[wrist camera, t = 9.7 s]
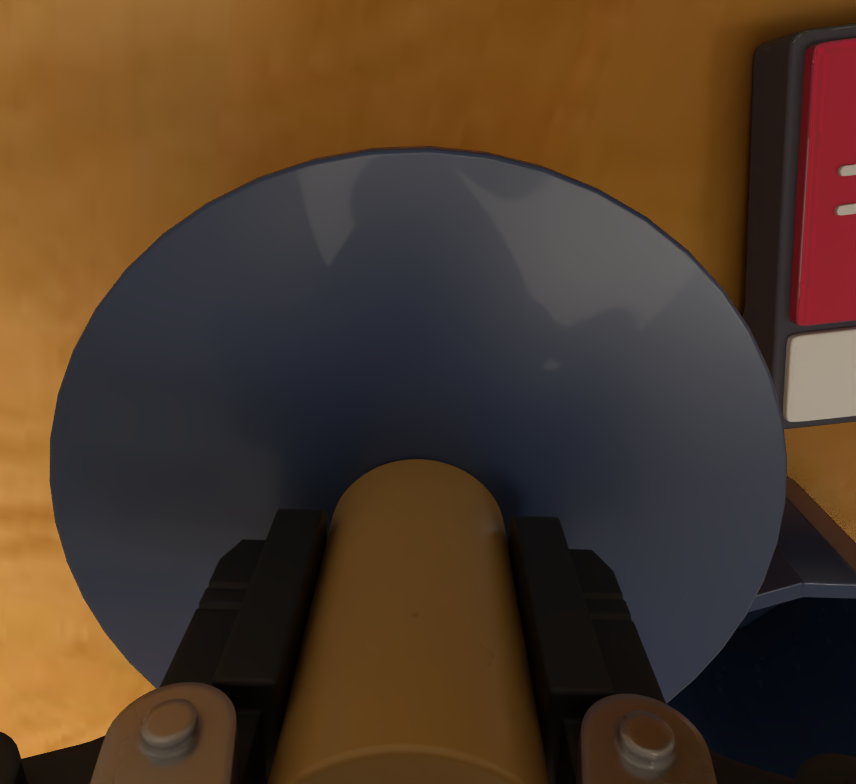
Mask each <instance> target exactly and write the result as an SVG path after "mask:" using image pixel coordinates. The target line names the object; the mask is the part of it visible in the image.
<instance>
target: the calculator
mask: <svg viewBox="0 0 856 784" xmlns="http://www.w3.org/2000/svg"><path fill="white" fill-rule="evenodd" d="M742 318H743V319H744V321H745V322H746V324H747V325H748V327H749V328H750V330H751V332H752V334H753V336H754V338H755V341H756V343H757V345H758V347H759V349H760V351H761V354H762V356H763V358H764V360H765V362H766V365H767V367H768V369H769V371H770V374H771V378H772V381H773V385H774V388H775V392H776V396H777V399H778V403H779V406H780V410H781V414H782V420H783V429H790V428H800V427H809V426H818V425H828V424H837V423H846V422H856V23H854V24H847V25H839V26H832V27H825V28H817V29H810V30H804V31H800V32H797V33H794V34H791V35H788V36H784V37H781V38H778V39H775V40H772V41H770V42H767V43H764V44H762V45H761V46H760V47H759V48H758V49H757V50H756V53H755V56H754V74H753V101H752V128H751V155H750V183H749V210H748V237H747V264H746V291H745V309H744V312H743V315H742Z"/></svg>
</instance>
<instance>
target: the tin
mask: <svg viewBox="0 0 856 784" xmlns="http://www.w3.org/2000/svg"><path fill="white" fill-rule="evenodd" d="M667 705H669V706H670V707H672V708H674V709H675V710H677V711H678V712H680V713H681V714H682V715H683V716H685V717H686V718H687V719H688V720H689V721H690V722H691V723H692V724H693V725H694V726H695V727H696V728H697V730H698V731H699V733H700V734H701V735H702V737H703V739H704V741H705V742H706V744H707V747H708V748H710V749H711V750H713V751H715V752H717V753H719V754H721V755H723V756H725V757H727V758H730V759H732V760H735V761H738V762H741V763H744V764H747V765H750V766H754V767H757V768H760V769H764V770H767V771H770V772H773V773H777V774H780V775H783V776H786V777H790V778H793V779H794V778H795V776H796V773H797V771H798V768H799V767H800V766H801V765H802V763H803V762H804V761H806V760H807V759H809V758H810V757H813V756H816V755H819V754H827V753H835V754H844V755H850V756H854V757H856V543H855V542H854V541H853V540H852V539H851V538H850V537H849V536H848V535H847V534H846V533H845V532H844V531H843V530H842V529H841V528H840V527H839V526H838V525H837V524H836V523H835V522H834V521H833V519H832V518H831V517H830V516H829V515H828V514H827V513H826V512H825V511H824V510H823V509H822V508H821V507H820V506H819V505H818V504H817V503H816V502H815V501H814V500H813V499H812V498H811V497H810V496H809V495H808V494H807V493H806V492H805V491H804V490H803V489H802V488H801V487H800V486H799V485H798V484H797V483H796V482H795V481H794V480H792V479H790V478H788V477H787V476H786V496H785V506H784V511H783V516H782V521H781V526H780V531H779V536H778V541H777V545H776V548H775V551H774V553H773V556H772V559H771V562H770V565H769V567H768V570H767V573H766V576H765V579H764V581H763V583H762V585H761V587H760V589H759V591H758V593H757V595H756V597H755V599H754V601H753V602H752V604H751V606H750V608H749V610H748V612H747V614H746V616H745V617H744V619H743V620H742V622H741V623H740V625H739V626H738V627H737V629H736V630H735V632H734V633H733V635H732V636H731V637H730V639H729V640H728V642H727V643H726V644H725V646H724V647H723V649H722V650H721V651H720V652H719V653H718V654H717V655H716V656H715V658H714V659H713V660H712V661H711V662H710V663H709V664H708V665H707V666H706V667H705V669H704V670H703V671H702V672H701V673H700V674H699V675H698V676H697V677H696V678H695V679H694V680H693V681H692V682H691V683H690V684H688V685H687V686H686V687H685V688H684V689H683V690H682V691H680V692H679V693H678V694H677V695H676V696H675V697H674V698H672V699H671V700H670V701H669V702H668V703H667Z"/></svg>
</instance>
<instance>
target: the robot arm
mask: <svg viewBox="0 0 856 784" xmlns="http://www.w3.org/2000/svg"><path fill="white" fill-rule="evenodd" d="M326 542H327V518H326V512H325V510H308V509H278V511H277V513H276V515H275V517H274V520H273V523H272V525H271V528H270V530H269V533H268V536H267V538H266V540H249V539H242V540H241V541H240V542H239V543H238V544H237V545H236V546H234V547H233V548H232V549H231V550H230V551H229V552H228V553H226V554H225V555H224V556H223V557H222V558H221V559H220V560H219V562H218V564H217V566H216V568H215V571H214V573H213V575H212V577H211V579H210V581H209V583H208V588H206V590H205V592H204V594H203V596H202V598H201V600H200V602H199V608H198V609H196V611H195V613H194V615H193V617H192V619H191V621H190V623H189V626H188V628H187V630H186V632H185V634H184V636H183V638H182V640H181V643H180V645H179V647H178V649H177V651H176V653H175V655H174V657H173V660H172V662H171V664H170V666H169V668H168V670H167V672H166V674H165V676H164V679H163V681H162V683H161V685H160V687H159V688H157V689H155V690H153V691H150V692H148V693H146V694H145V695H143V696H141V697H139V698H138V699H136V700H135V701H134V702H132V703H131V704H129V705H128V706H127V707H126V708H125V709H124V710H123V711H122V712H121V713H120V714H119V715H118V716H117V717H116V719H115V720H114V721H113V723H112V724H111V726H110V727H109V729H108V731H107V733H106V735H105V736H103V737H100V738H98V739H96V740H93V741H90V742H87V743H83V744H80V745H76V746H72V747H68V748H64V749H60V750H56V751H52V752H48V753H44V754H40V755H36V756H32V757H28V758H24V759H21V757H20V754H19V751H18V748H17V745H16V744H15V742H14V741H13V740H12V738H10V737H9V736H8V735H6V734H4V733H2V732H0V784H267V783H268V779H269V775H270V771H271V767H272V762H273V758H274V754H275V750H276V746H277V742H278V738H279V734H280V730H281V726H282V722H283V718H284V713H285V709H286V705H287V701H288V697H289V693H290V689H291V685H292V681H293V677H294V672H295V668H296V664H297V660H298V656H299V652H300V648H301V644H302V640H303V636H304V632H305V627H306V623H307V619H308V615H309V611H310V607H311V603H312V599H313V595H314V591H315V587H316V582H317V578H318V574H319V570H320V566H321V562H322V558H323V554H324V550H325V546H326ZM508 549H509V555H510V560H511V566H512V572H513V577H514V583H515V589H516V594H517V600H518V606H519V611H520V617H521V623H522V628H523V634H524V639H525V645H526V651H527V656H528V662H529V668H530V673H531V679H532V685H533V690H534V696H535V702H536V707H537V713H538V718H539V724H540V730H541V735H542V741H543V747H544V752H545V758H546V764H547V769H548V775H549V781H550V784H856V757H854V756H850V755H844V754H835V753H827V754H819V755H816V756H813V757H810V758H809V759H807V760H806V761H804V762H803V763H802V765H801V766H800V767H799V768H798V771H797V773H796V776H795V778H794V779H793V778H790V777H786V776H783V775H780V774H777V773H773V772H770V771H767V770H764V769H760V768H757V767H754V766H750V765H747V764H744V763H741V762H738V761H735V760H732V759H730V758H727V757H725V756H723V755H721V754H719V753H717V752H715V751H713V750H711V749H710V748H708V747H707V744H706V742H705V741H704V739H703V737H702V735H701V734H700V733H699V731H698V730H697V728H696V727H695V726H694V725H693V724H692V723H691V722H690V721H689V720H688V719H687V718H686V717H685V716H683V715H682V714H681V713H680V712H678V711H677V710H675V709H674V708H672V707H670V706H669V705H667V704H666V702H665V699H664V697H663V694H662V692H661V689H660V687H659V684H658V682H657V679H656V677H655V674H654V672H653V669H652V667H651V664H650V662H649V659H648V657H647V654H646V651H645V649H644V646H643V644H642V641H641V639H640V636H639V634H638V631H637V629H636V626H635V624H634V621H632V620H631V614H630V611H629V609H628V606H627V604H626V601H625V600H623V594H622V591H621V589H620V586H619V584H618V581H617V579H616V576H615V574H614V571H613V570H612V569H611V568H610V567H609V566H608V565H607V564H606V563H605V562H604V561H603V560H602V559H601V558H600V557H599V556H598V555H597V554H596V553H595V552H594V551H593V550H587V549H569V548H568V544H567V541H566V538H565V535H564V532H563V529H562V525H561V522H560V520H559V518H558V517H539V516H512V517H511V521H510V527H509V538H508Z"/></svg>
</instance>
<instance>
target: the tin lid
mask: <svg viewBox="0 0 856 784" xmlns="http://www.w3.org/2000/svg"><path fill="white" fill-rule="evenodd" d="M786 473H787V455H786V447H785V438H784V429H783V420H782V414H781V410H780V406H779V403H778V399H777V396H776V392H775V388H774V385H773V381H772V378H771V374H770V371H769V369H768V367H767V365H766V362H765V360H764V358H763V356H762V354H761V351H760V349H759V347H758V345H757V343H756V341H755V338H754V336H753V334H752V332H751V330H750V328H749V327H748V325H747V324H746V322H745V321H744V319H743V318H742V316H741V315H740V313H739V312H738V310H737V309H736V307H735V306H734V304H733V303H732V301H731V300H730V298H729V297H728V295H727V294H726V292H725V291H724V289H723V288H722V287H721V286H720V285H719V283H718V282H717V281H716V280H715V279H714V278H713V277H712V276H711V275H710V274H709V273H708V271H707V270H706V269H705V268H704V267H703V266H702V265H701V264H700V263H699V262H698V261H697V260H696V258H695V257H694V256H693V255H692V254H691V253H690V252H689V251H688V250H687V249H686V248H684V247H683V246H682V245H681V244H679V243H678V242H677V241H676V240H674V239H673V238H672V237H671V236H669V235H668V234H667V233H666V232H664V231H663V230H662V229H661V228H659V227H658V226H657V225H656V224H654V223H653V222H652V221H651V220H650V219H648V218H647V217H645V216H644V215H642V214H640V213H639V212H637V211H635V210H633V209H632V208H630V207H628V206H627V205H625V204H623V203H621V202H620V201H618V200H616V199H615V198H613V197H611V196H609V195H608V194H606V193H604V192H603V191H601V190H599V189H597V188H595V187H593V186H590V185H588V184H585V183H583V182H581V181H578V180H576V179H573V178H571V177H568V176H566V175H563V174H561V173H558V172H556V171H553V170H551V169H548V168H546V167H543V166H541V165H537V164H533V163H529V162H525V161H521V160H517V159H513V158H509V157H505V156H501V155H497V154H493V153H489V152H483V151H473V150H463V149H454V148H444V147H434V146H415V147H388V148H370V149H364V150H359V151H353V152H348V153H342V154H336V155H331V156H325V157H320V158H315V159H312V160H309V161H306V162H303V163H300V164H297V165H294V166H291V167H288V168H285V169H282V170H279V171H276V172H273V173H270V174H267V175H264V176H261V177H258V178H256V179H254V180H252V181H250V182H248V183H246V184H244V185H242V186H240V187H238V188H236V189H234V190H232V191H230V192H228V193H226V194H224V195H222V196H220V197H218V198H216V199H214V200H212V201H210V202H208V203H206V204H205V205H203V206H202V207H201V208H199V209H198V210H196V211H195V212H193V213H192V214H191V215H189V216H188V217H186V218H185V219H183V220H182V221H181V222H179V223H178V224H176V225H175V226H173V227H172V228H171V229H169V230H168V231H166V232H165V233H163V234H162V235H161V236H160V237H159V238H158V239H157V240H156V241H155V242H154V243H153V244H152V245H151V246H150V247H149V248H148V249H147V250H145V251H144V252H143V253H142V254H141V255H140V256H139V257H138V258H137V259H136V260H135V261H134V262H133V263H132V264H131V265H130V266H129V267H128V268H127V269H126V270H125V271H124V272H123V274H122V275H121V276H120V277H119V279H118V280H117V281H116V283H115V284H114V285H113V287H112V288H111V289H110V291H109V292H108V293H107V295H106V296H105V297H104V298H103V300H102V301H101V302H100V304H99V305H98V306H97V308H96V309H95V311H94V313H93V314H92V316H91V318H90V320H89V322H88V324H87V326H86V328H85V329H84V331H83V333H82V335H81V337H80V339H79V341H78V342H77V344H76V346H75V348H74V350H73V352H72V355H71V358H70V361H69V364H68V367H67V370H66V372H65V375H64V378H63V381H62V384H61V387H60V390H59V393H58V397H57V403H56V409H55V415H54V420H53V426H52V432H51V438H50V487H51V494H52V502H53V509H54V516H55V523H56V526H57V530H58V533H59V536H60V540H61V543H62V547H63V550H64V553H65V557H66V560H67V563H68V565H69V567H70V570H71V572H72V574H73V576H74V578H75V581H76V583H77V585H78V587H79V589H80V592H81V594H82V596H83V598H84V600H85V601H86V603H87V605H88V606H89V608H90V609H91V611H92V613H93V614H94V616H95V617H96V619H97V621H98V622H99V624H100V625H101V627H102V629H103V630H104V632H105V633H106V634H107V636H108V637H109V638H110V639H111V640H112V642H113V643H114V644H115V645H116V647H117V648H118V649H119V650H120V652H121V653H122V654H123V655H124V656H125V658H126V659H127V660H128V661H129V663H130V664H131V665H132V666H133V667H135V668H136V669H137V670H138V671H139V672H140V673H141V674H142V675H143V676H144V677H145V678H146V679H147V680H148V681H149V682H150V683H151V684H152V685H153V686H154V687H155V688H156V689H157V688H159V687H160V685H161V683H162V681H163V679H164V676H165V674H166V672H167V670H168V668H169V666H170V664H171V662H172V660H173V657H174V655H175V653H176V651H177V649H178V647H179V645H180V643H181V640H182V638H183V636H184V634H185V632H186V630H187V628H188V626H189V623H190V621H191V619H192V617H193V615H194V613H195V611H196V609H198V608H199V602H200V600H201V598H202V596H203V594H204V592H205V590H206V588H208V583H209V581H210V579H211V577H212V575H213V573H214V571H215V568H216V566H217V564H218V562H219V560H220V559H221V558H222V557H223V556H224V555H225V554H226V553H228V552H229V551H230V550H231V549H232V548H233V547H234V546H236V545H237V544H238V543H239V542H240V541H241V540H242V539H249V540H266V538H267V536H268V533H269V530H270V528H271V525H272V523H273V520H274V517H275V515H276V513H277V511H278V509H308V510H325V512H326V518H327V542H326V546H325V550H324V554H323V558H322V562H321V566H320V570H319V574H318V578H317V582H316V587H315V591H314V595H313V599H312V603H311V607H310V611H309V615H308V619H307V623H306V627H305V632H304V636H303V640H302V644H301V648H300V652H299V656H298V660H297V664H296V668H295V672H294V677H293V681H292V685H291V689H290V693H289V697H288V701H287V705H286V709H285V713H284V718H283V722H282V726H281V730H280V734H279V738H278V742H277V746H276V750H275V754H274V758H273V762H272V767H271V771H270V775H269V779H268V783H267V784H550V781H549V775H548V769H547V764H546V758H545V752H544V747H543V741H542V735H541V730H540V724H539V718H538V713H537V707H536V702H535V696H534V690H533V685H532V679H531V673H530V668H529V662H528V656H527V651H526V645H525V639H524V634H523V628H522V623H521V617H520V611H519V606H518V600H517V594H516V589H515V583H514V577H513V572H512V566H511V560H510V555H509V549H508V538H509V527H510V521H511V517H512V516H539V517H558V518H559V520H560V522H561V525H562V529H563V532H564V535H565V538H566V541H567V544H568V548H569V549H587V550H593V551H594V552H595V553H596V554H597V555H598V556H599V557H600V558H601V559H602V560H603V561H604V562H605V563H606V564H607V565H608V566H609V567H610V568H611V569H612V570H613V571H614V574H615V576H616V579H617V581H618V584H619V586H620V589H621V591H622V594H623V600H625V601H626V604H627V606H628V609H629V611H630V614H631V620H632V621H634V624H635V626H636V629H637V631H638V634H639V636H640V639H641V641H642V644H643V646H644V649H645V651H646V654H647V657H648V659H649V662H650V664H651V667H652V669H653V672H654V674H655V677H656V679H657V682H658V684H659V687H660V689H661V692H662V694H663V697H664V699H665V702H666V704H667V703H668V702H669V701H670V700H671V699H672V698H674V697H675V696H676V695H677V694H678V693H679V692H680V691H682V690H683V689H684V688H685V687H686V686H687V685H688V684H690V683H691V682H692V681H693V680H694V679H695V678H696V677H697V676H698V675H699V674H700V673H701V672H702V671H703V670H704V669H705V667H706V666H707V665H708V664H709V663H710V662H711V661H712V660H713V659H714V658H715V656H716V655H717V654H718V653H719V652H720V651H721V650H722V649H723V647H724V646H725V644H726V643H727V642H728V640H729V639H730V637H731V636H732V635H733V633H734V632H735V630H736V629H737V627H738V626H739V625H740V623H741V622H742V620H743V619H744V617H745V616H746V614H747V612H748V610H749V608H750V606H751V604H752V602H753V601H754V599H755V597H756V595H757V593H758V591H759V589H760V587H761V585H762V583H763V581H764V579H765V576H766V573H767V570H768V567H769V565H770V562H771V559H772V556H773V553H774V551H775V548H776V545H777V541H778V536H779V531H780V526H781V521H782V516H783V511H784V506H785V496H786Z"/></svg>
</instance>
